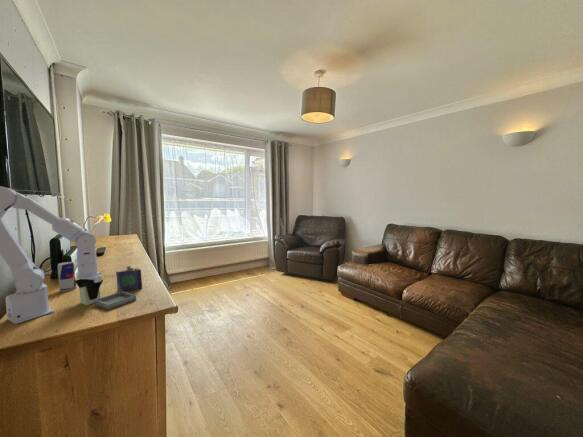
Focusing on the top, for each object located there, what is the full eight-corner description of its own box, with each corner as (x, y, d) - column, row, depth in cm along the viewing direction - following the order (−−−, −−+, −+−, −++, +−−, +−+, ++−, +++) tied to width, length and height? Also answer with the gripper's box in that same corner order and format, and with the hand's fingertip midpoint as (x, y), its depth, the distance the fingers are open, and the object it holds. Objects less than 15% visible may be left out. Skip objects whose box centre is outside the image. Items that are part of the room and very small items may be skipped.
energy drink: (72, 290, 104) (70, 264, 103) (57, 292, 102) (54, 265, 101) (78, 286, 109) (76, 261, 108) (63, 288, 107) (61, 262, 106)
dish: (108, 310, 85) (107, 304, 85) (94, 305, 89) (94, 300, 89) (136, 300, 93) (136, 295, 93) (122, 295, 98) (122, 291, 98)
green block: (86, 305, 89) (84, 289, 89) (80, 303, 91) (79, 287, 91) (100, 300, 93) (99, 285, 93) (94, 298, 95) (93, 284, 95)
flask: (116, 292, 101) (114, 267, 101) (119, 290, 104) (117, 266, 103) (141, 289, 104) (139, 265, 104) (143, 287, 107) (141, 264, 106)
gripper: (109, 262, 91) (111, 297, 92) (90, 259, 98) (93, 291, 99) (86, 267, 85) (89, 304, 86) (68, 263, 92) (71, 297, 93)
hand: (90, 297), depth 92 cm, fingers closed on green block, 4 cm apart
